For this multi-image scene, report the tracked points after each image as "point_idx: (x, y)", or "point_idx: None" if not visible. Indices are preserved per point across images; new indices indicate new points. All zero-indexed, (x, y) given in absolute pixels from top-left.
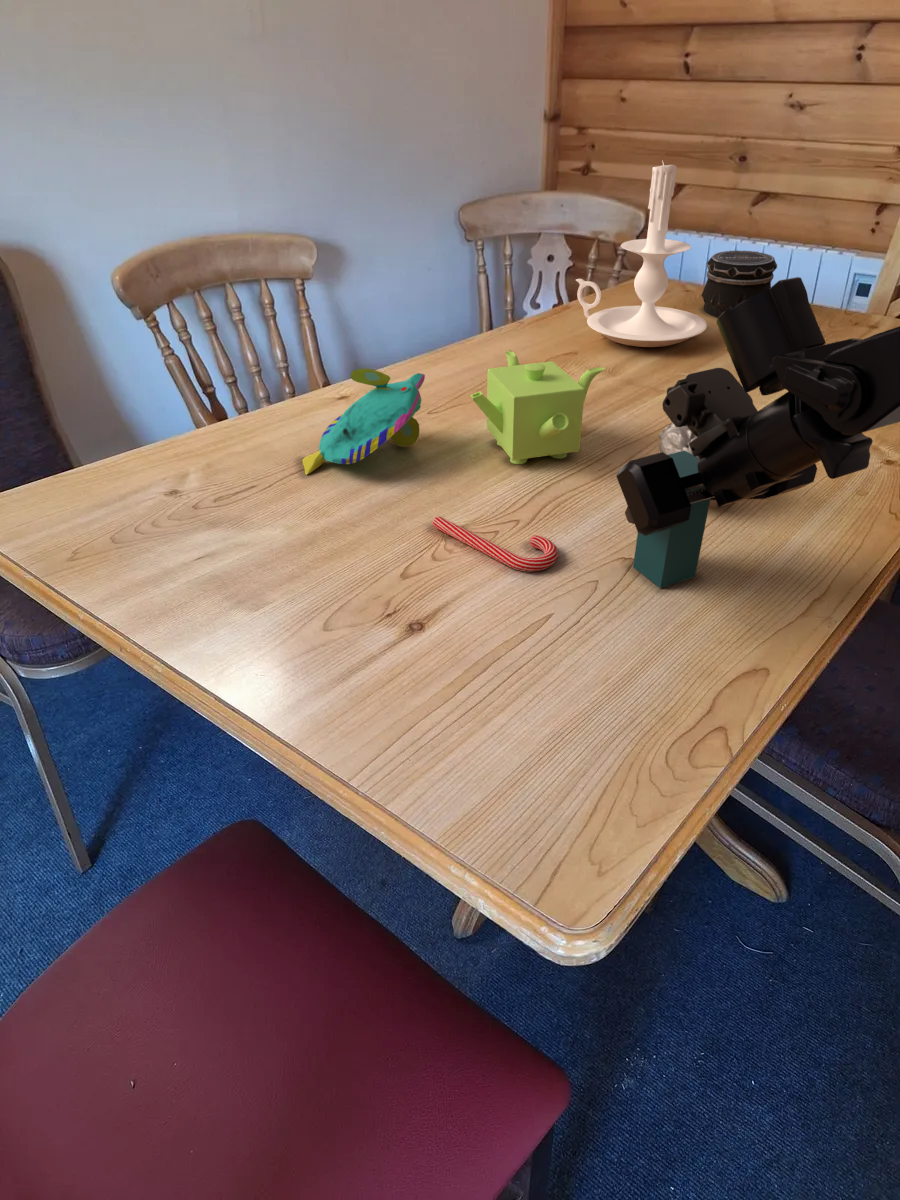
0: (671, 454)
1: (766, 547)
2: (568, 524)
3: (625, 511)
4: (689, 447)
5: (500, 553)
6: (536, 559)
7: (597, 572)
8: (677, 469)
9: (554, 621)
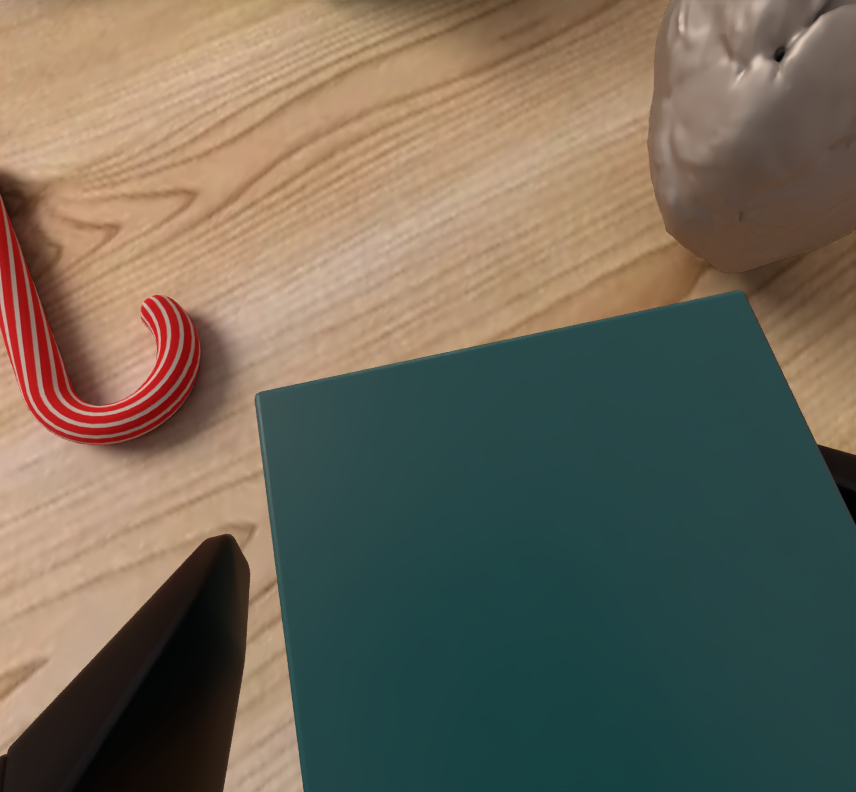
0: (568, 341)
1: None
2: (311, 242)
3: (193, 554)
4: (786, 63)
5: (11, 360)
6: (82, 425)
7: None
8: (474, 754)
9: (24, 705)
